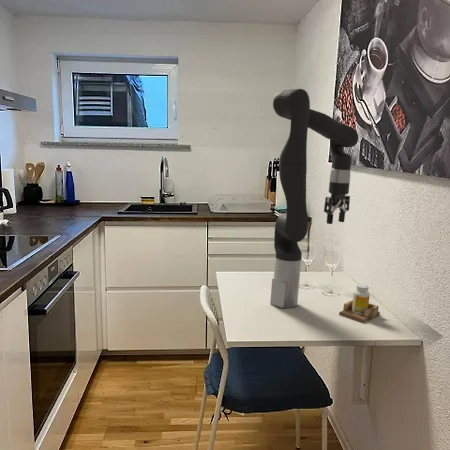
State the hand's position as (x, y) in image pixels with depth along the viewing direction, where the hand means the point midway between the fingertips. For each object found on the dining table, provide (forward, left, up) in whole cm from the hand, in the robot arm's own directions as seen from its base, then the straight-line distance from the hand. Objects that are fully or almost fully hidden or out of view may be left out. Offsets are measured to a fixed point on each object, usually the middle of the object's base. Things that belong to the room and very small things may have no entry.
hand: (335, 222), depth 183 cm
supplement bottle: (-13, -21, -27) cm, 37 cm away
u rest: (-13, -21, -28) cm, 37 cm away
